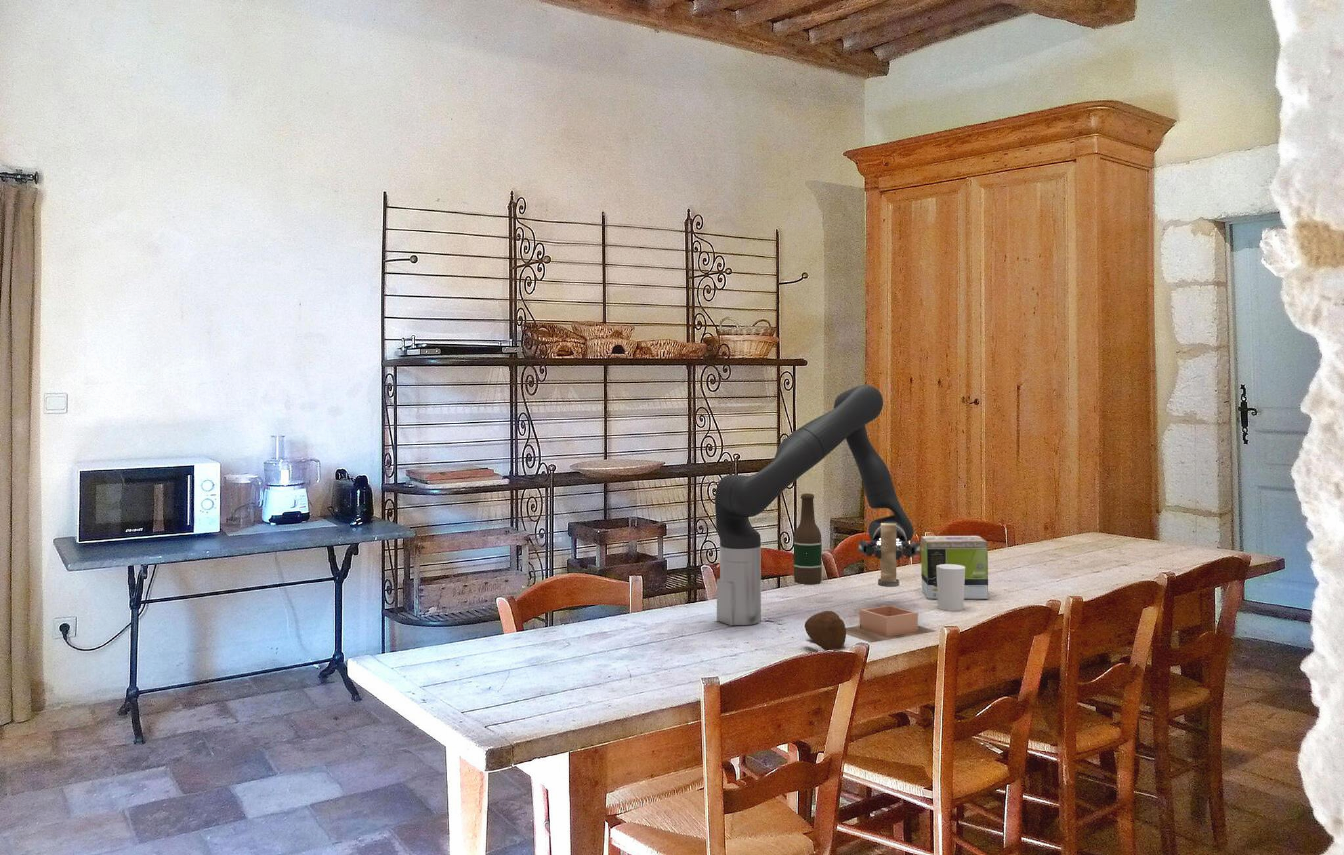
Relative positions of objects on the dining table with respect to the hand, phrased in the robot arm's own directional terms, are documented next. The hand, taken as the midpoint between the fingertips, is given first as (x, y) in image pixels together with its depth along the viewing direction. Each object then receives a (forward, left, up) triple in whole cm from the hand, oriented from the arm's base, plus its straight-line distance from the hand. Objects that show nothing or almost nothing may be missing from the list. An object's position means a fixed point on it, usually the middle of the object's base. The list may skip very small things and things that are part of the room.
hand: (888, 554), depth 209 cm
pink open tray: (+2, +2, -17) cm, 17 cm away
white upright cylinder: (+32, +14, -18) cm, 39 cm away
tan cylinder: (+2, +2, -7) cm, 8 cm away
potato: (-16, 0, -18) cm, 24 cm away
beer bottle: (+22, +57, -18) cm, 64 cm away
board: (+1, +2, -18) cm, 18 cm away
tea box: (+43, +24, -18) cm, 52 cm away
